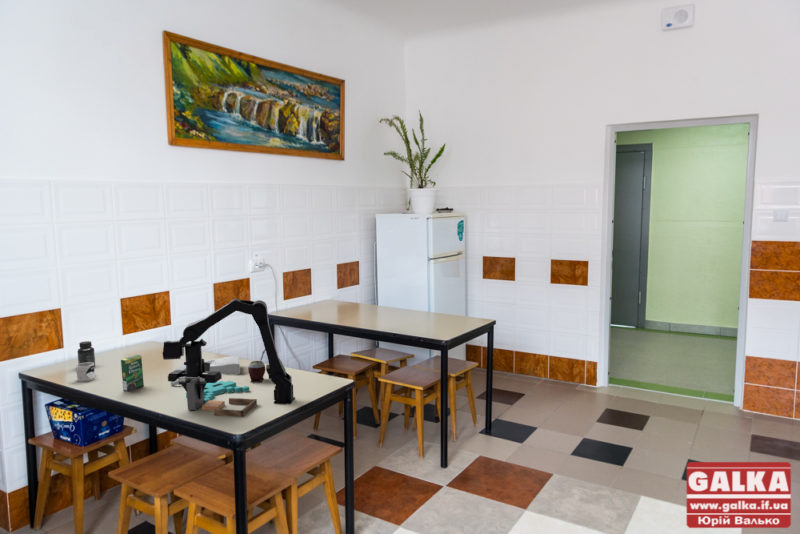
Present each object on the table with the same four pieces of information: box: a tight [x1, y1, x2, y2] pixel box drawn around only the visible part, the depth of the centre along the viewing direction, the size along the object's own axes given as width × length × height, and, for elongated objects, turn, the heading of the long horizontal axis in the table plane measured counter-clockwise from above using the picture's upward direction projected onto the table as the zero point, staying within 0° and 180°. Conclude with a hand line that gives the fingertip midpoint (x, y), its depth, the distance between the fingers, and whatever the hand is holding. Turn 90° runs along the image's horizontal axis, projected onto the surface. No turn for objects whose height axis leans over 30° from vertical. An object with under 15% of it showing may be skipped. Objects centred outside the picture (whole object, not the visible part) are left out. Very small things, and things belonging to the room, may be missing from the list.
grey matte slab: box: [186, 379, 205, 411], centre depth 218 cm, size 3×7×10 cm, turn 171°
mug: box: [76, 362, 96, 383], centre depth 255 cm, size 10×7×7 cm, turn 0°
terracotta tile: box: [201, 399, 226, 412], centre depth 219 cm, size 6×6×2 cm
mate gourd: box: [247, 349, 266, 384], centre depth 250 cm, size 8×8×15 cm
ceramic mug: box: [169, 363, 199, 387], centre depth 248 cm, size 11×8×8 cm
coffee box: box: [120, 354, 145, 392], centre depth 241 cm, size 8×3×13 cm, turn 150°
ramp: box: [204, 355, 241, 376], centre depth 267 cm, size 28×16×5 cm, turn 59°
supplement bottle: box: [77, 340, 96, 368], centre depth 270 cm, size 7×7×12 cm
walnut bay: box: [213, 397, 258, 418], centre depth 216 cm, size 11×13×2 cm
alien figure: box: [185, 380, 250, 403], centre depth 236 cm, size 20×2×20 cm
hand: (196, 398), depth 219 cm, fingers closed on grey matte slab, 3 cm apart
